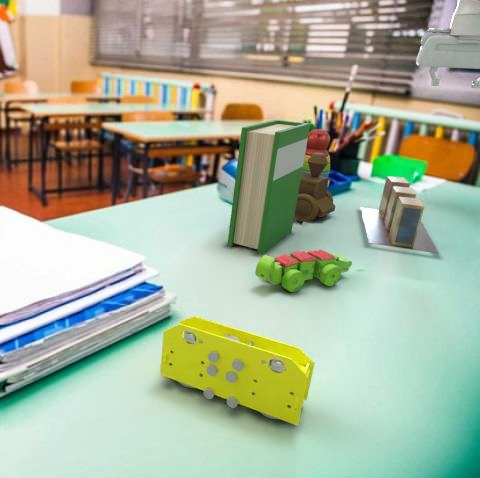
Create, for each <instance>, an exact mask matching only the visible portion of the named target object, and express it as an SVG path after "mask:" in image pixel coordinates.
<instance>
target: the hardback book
mask: <svg viewBox="0 0 480 478" xmlns="http://www.w3.org/2000/svg"><path fill="white" fill-rule="evenodd" d="M310 128H311V123H309V122H300V121H293V120H291V121H290V120H283V119H282V120H281V119H273V120H269V121H264V122H260V123H256V124H251V125H246V126H243V127H241V131H240V140H239V147H238V154H237V155H238V156H237V164H236V171H235V180H234V189H233V194H232V202H231V203H232V204H231V212H230V221H229V227H228V228H229V229H228V235H227V236H228V237H227V242H226V243H227V244H226V246H227V247H231V248H232V247H234V246H235V245H239V246H244V247H247V248H250V249H255V250H257V252H256V255H261V256H263V255H265V253H267V251H269V250H270V249H272V248H273V247H274V246H276V245H277V244H278V243H279V242H281V241H282V240H283V239H285V238H286V237H287V236H289V235H290V234H291V233H292V232H293V227H294V220H295V219H294V215H295V209H296V203H297V198H298V192H299V186H300V180H301V174H302V169H303V163H304V157H305V151H306V146H307V140H308V134H309V132H310Z"/></svg>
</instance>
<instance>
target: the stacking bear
mask: <svg viewBox="0 0 480 478" xmlns="http://www.w3.org/2000/svg"><path fill="white" fill-rule="evenodd" d="M330 141H331V136H330V134H329V132H327V131H326V130H323V129H322V128H319V129H317V128H316V129H312V130H309V134H308V140H307V146H306V151H305V157H304V163H303V169H302V172H303V173H308V174H311V172H310V168H309V165H308V159H309V158H310V157H311V156H312V155H313V154H314V153H324V154H325V155H326V158H327V160H328V164H327V165H326V167H325V168H324V170H323V171H322V173H321V174H320V175H319V176H322V177H326V178H329V176H330V171H331V156H330V154H329V152H328V150H327V148H328V147H329V145H330Z"/></svg>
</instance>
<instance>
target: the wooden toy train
mask: <svg viewBox="0 0 480 478" xmlns="http://www.w3.org/2000/svg"><path fill="white" fill-rule="evenodd" d="M327 164H328V160H327V158H326V155H325V154H324V153H314V154H313V155H312V156H311V157H310V158H309V159H308V165H309V168H310V172H311V174H308V173H303V172H302V174H301V180H300V186H299V192H298V198H297V203H296V209H295V215H294V220H295V221H297V222H300V223H304V222H306V223H310V222H313V221H314V220H316V218H317V217H319V218H320V217H321V218H323V217H325V216H326V215H329V214H331V213H333V212H335V209H336V205H335V203H334V198H333V195H332V193H331V192H330V191H329V190H328V186H329V179H330V178H329V177H328V178H326V177H322V176H319V175H320V174H321V173H322V171H323V170H324V168H325V167H326V165H327Z"/></svg>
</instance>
